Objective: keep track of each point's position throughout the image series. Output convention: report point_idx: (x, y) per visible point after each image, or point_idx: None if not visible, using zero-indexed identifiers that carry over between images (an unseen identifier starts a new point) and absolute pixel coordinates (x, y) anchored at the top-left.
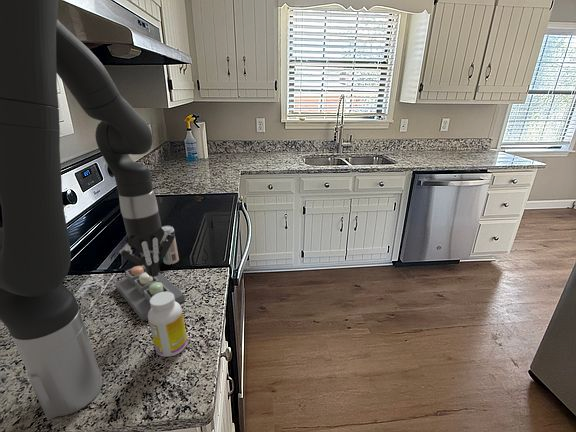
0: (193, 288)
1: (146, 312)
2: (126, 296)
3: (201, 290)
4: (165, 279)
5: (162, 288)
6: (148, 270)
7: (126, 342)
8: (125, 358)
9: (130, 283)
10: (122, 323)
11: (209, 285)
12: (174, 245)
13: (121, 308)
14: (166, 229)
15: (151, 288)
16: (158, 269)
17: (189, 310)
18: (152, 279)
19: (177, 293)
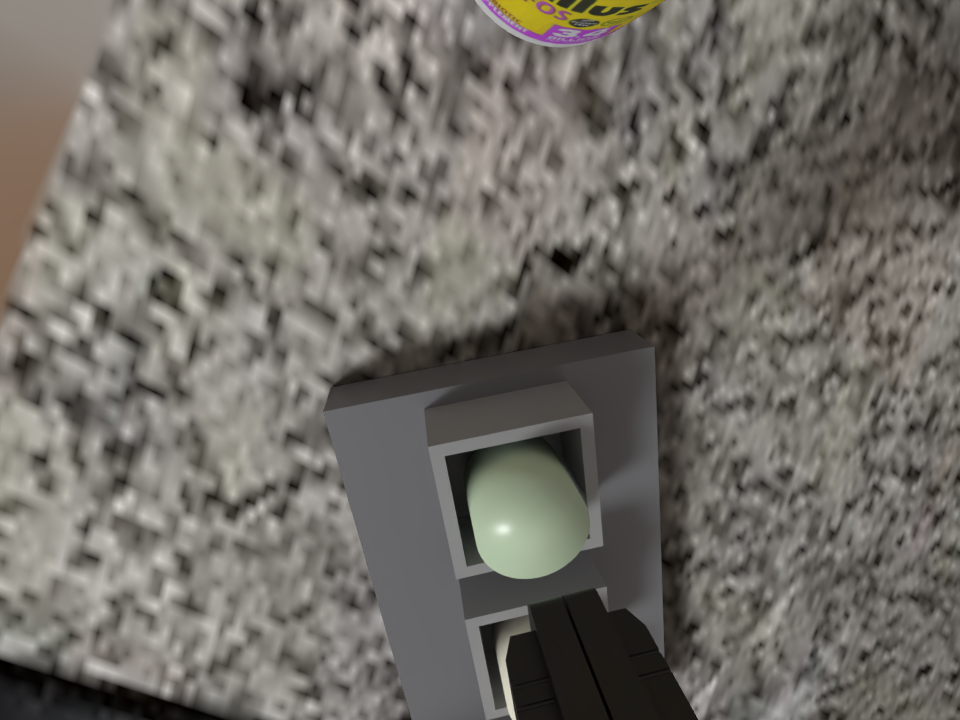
0: (234, 492)
1: (617, 351)
2: (661, 575)
3: (180, 441)
4: (399, 642)
5: (482, 490)
6: (664, 683)
7: (766, 185)
8: (822, 31)
9: None
10: (723, 376)
11: (101, 470)
12: None
13: (683, 510)
14: None
15: (575, 510)
16: (526, 674)
17: (327, 258)
18: (506, 647)
19: (364, 449)
